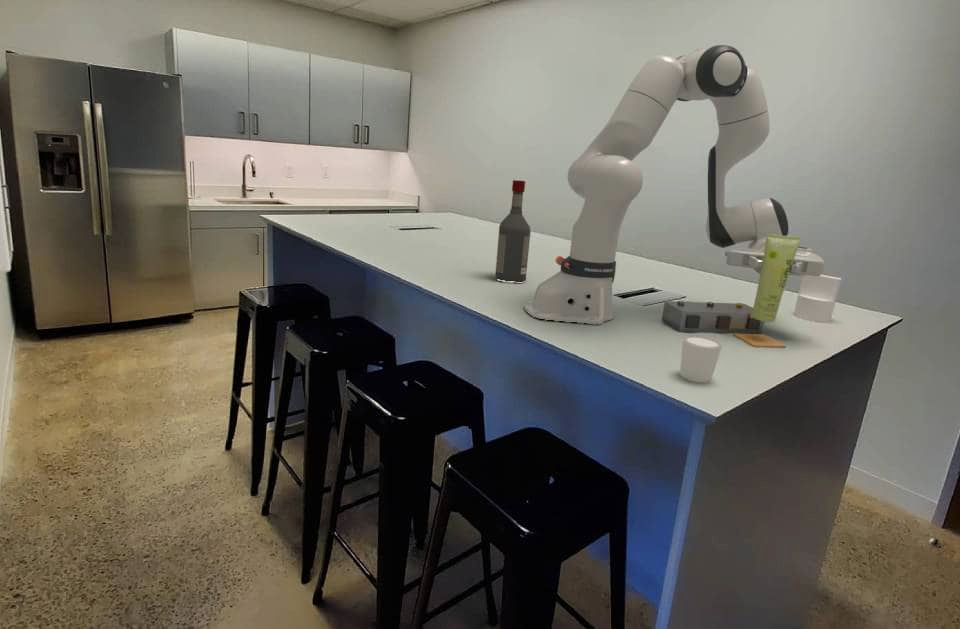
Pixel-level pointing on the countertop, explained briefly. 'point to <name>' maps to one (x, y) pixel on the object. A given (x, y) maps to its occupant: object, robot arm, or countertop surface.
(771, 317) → the tube
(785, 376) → the countertop surface
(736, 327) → the box
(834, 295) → the base with upright slab
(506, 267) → the liquor
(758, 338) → the pad
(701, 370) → the white tapered cylinder
